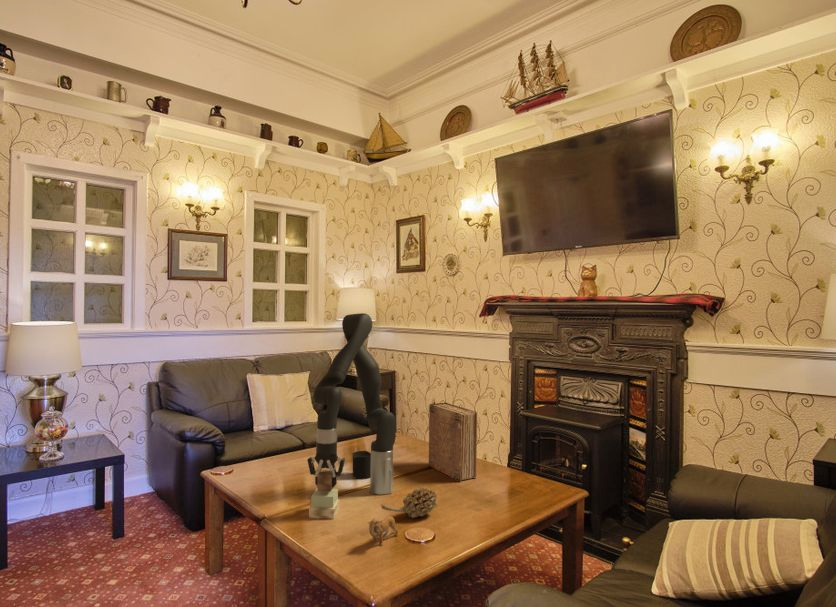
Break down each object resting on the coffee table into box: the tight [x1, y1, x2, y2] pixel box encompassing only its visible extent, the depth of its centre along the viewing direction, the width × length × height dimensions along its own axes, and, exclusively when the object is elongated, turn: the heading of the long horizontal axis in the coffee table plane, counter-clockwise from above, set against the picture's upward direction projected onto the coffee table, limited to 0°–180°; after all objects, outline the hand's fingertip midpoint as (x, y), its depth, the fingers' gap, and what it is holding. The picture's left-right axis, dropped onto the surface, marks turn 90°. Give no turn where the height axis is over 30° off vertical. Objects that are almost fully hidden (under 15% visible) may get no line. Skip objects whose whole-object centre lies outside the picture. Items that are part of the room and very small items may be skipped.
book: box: [428, 402, 478, 483], centre depth 233 cm, size 25×9×30 cm, turn 32°
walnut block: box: [316, 469, 335, 492], centre depth 184 cm, size 5×5×6 cm
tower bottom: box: [308, 498, 340, 520], centre depth 184 cm, size 9×9×4 cm
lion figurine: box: [368, 516, 399, 547], centre depth 164 cm, size 15×5×9 cm, turn 154°
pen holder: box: [351, 450, 371, 480], centre depth 226 cm, size 9×9×10 cm
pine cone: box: [380, 487, 439, 519], centre depth 182 cm, size 22×10×10 cm, turn 115°
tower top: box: [310, 488, 339, 508], centre depth 185 cm, size 8×8×4 cm
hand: (325, 486), depth 184 cm, fingers closed on walnut block, 5 cm apart
